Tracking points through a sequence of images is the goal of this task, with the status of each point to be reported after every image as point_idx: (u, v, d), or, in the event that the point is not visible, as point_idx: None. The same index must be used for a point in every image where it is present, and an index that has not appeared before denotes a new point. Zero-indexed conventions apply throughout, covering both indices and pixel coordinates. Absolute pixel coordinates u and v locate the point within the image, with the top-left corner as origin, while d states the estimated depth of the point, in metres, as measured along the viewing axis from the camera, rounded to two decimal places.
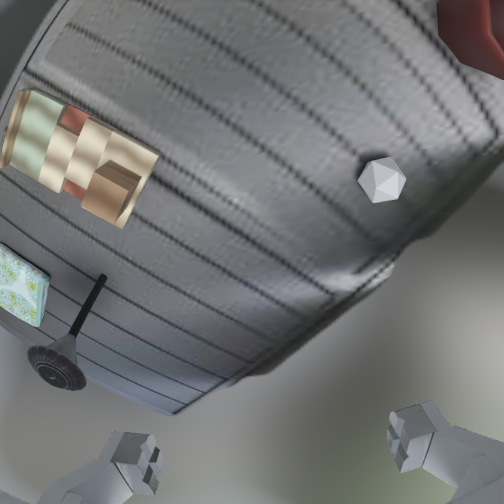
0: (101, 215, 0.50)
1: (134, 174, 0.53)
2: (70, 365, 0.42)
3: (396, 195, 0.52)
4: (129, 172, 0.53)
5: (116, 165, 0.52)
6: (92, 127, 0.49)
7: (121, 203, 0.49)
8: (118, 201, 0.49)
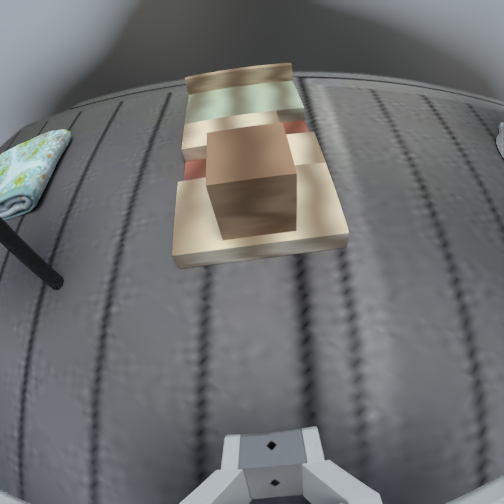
0: (210, 161, 0.25)
1: None
2: None
3: None
4: None
5: None
6: (308, 141, 0.37)
7: (261, 175, 0.24)
8: (261, 170, 0.24)
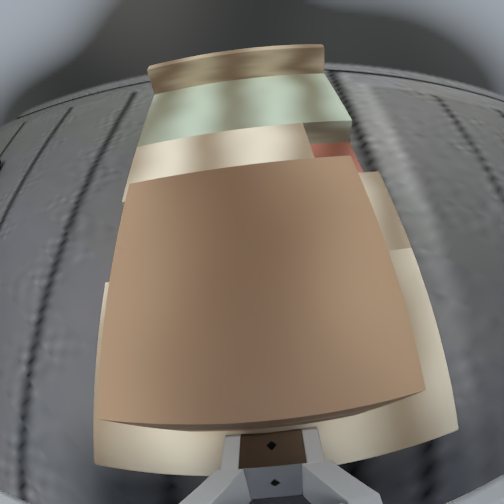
0: (117, 308, 0.07)
1: None
2: None
3: None
4: None
5: None
6: (372, 193, 0.18)
7: (299, 405, 0.06)
8: (297, 376, 0.06)
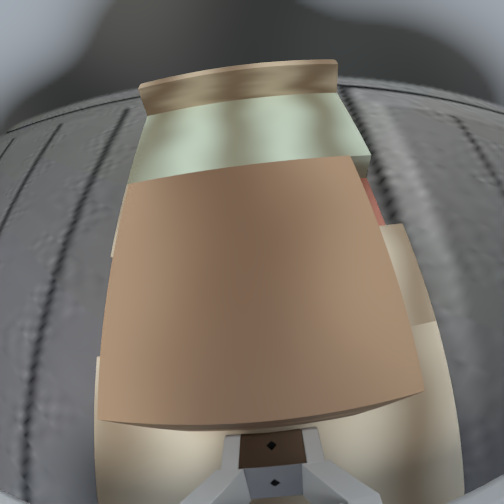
0: (117, 309, 0.07)
1: None
2: None
3: None
4: None
5: None
6: (395, 253, 0.16)
7: (298, 406, 0.06)
8: (296, 376, 0.06)
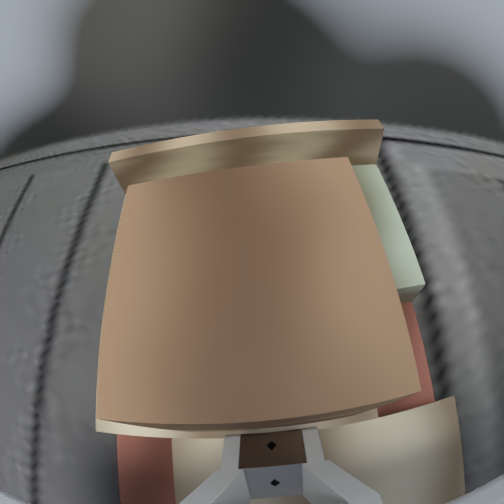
0: (116, 309, 0.07)
1: None
2: None
3: None
4: None
5: None
6: (440, 439, 0.10)
7: (295, 406, 0.06)
8: (293, 377, 0.06)
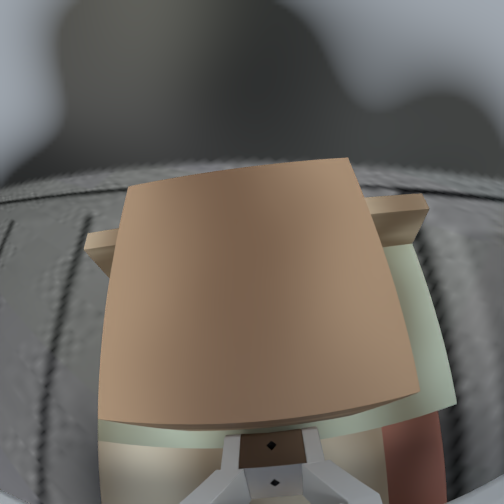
0: (117, 310, 0.07)
1: None
2: None
3: None
4: None
5: None
6: None
7: (295, 406, 0.06)
8: (293, 377, 0.06)
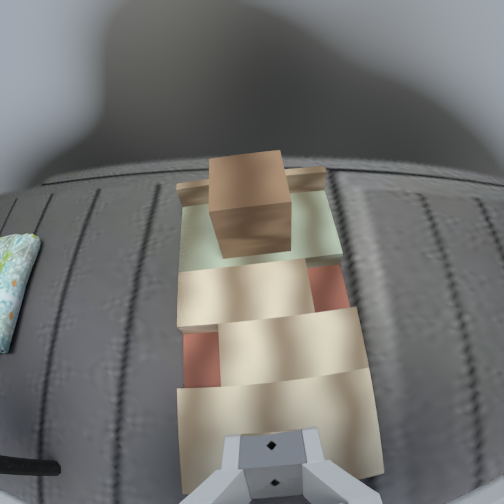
0: (212, 188, 0.28)
1: None
2: None
3: None
4: None
5: None
6: (348, 327, 0.27)
7: (259, 203, 0.26)
8: (259, 198, 0.27)
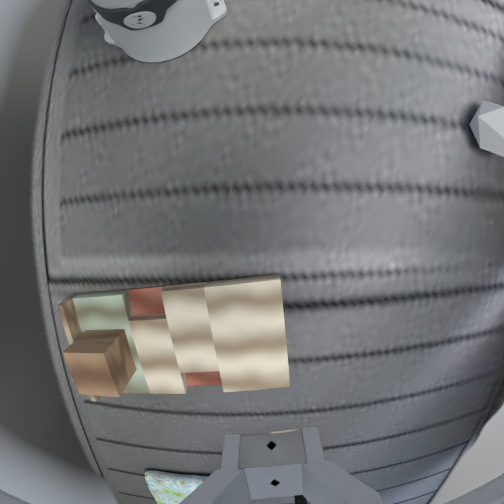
0: (102, 394, 0.37)
1: (114, 331, 0.42)
2: None
3: None
4: (108, 332, 0.42)
5: (92, 332, 0.42)
6: (175, 298, 0.41)
7: (108, 371, 0.36)
8: (104, 370, 0.36)
